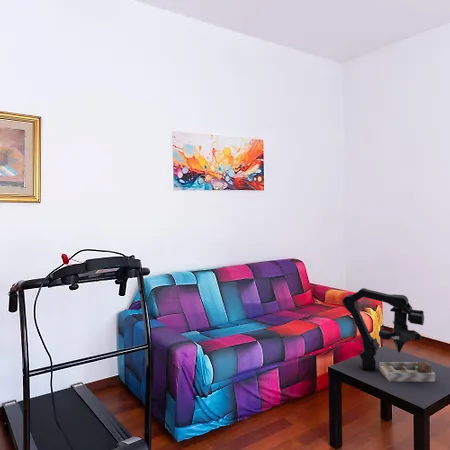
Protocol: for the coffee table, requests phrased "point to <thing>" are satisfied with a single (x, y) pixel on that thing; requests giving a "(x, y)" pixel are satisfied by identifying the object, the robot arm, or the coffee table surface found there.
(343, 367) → the coffee table surface
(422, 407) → the coffee table surface
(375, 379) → the coffee table surface
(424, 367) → the walnut block
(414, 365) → the grey slotted tray
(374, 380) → the coffee table surface
